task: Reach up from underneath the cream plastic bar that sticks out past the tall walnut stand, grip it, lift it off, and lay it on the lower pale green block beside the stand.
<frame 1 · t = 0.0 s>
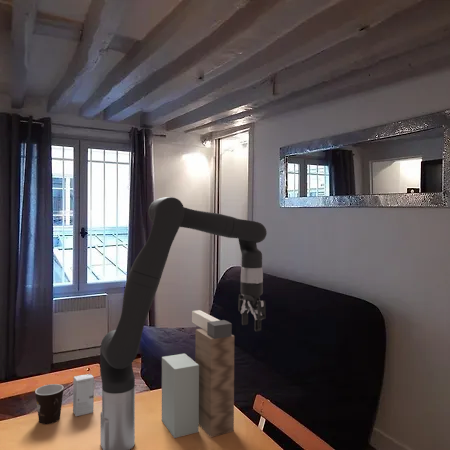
hand: (251, 327, 140), 29 cm above the table, tool pointing down, fingers open, 8 cm apart
skincare box: (83, 412, 140), on the table
pale green block: (179, 426, 131), on the table
coffee mug: (49, 422, 133), on the table
bar: (211, 331, 133), point 30 cm above the table, touching stand
stand: (213, 425, 132), on the table
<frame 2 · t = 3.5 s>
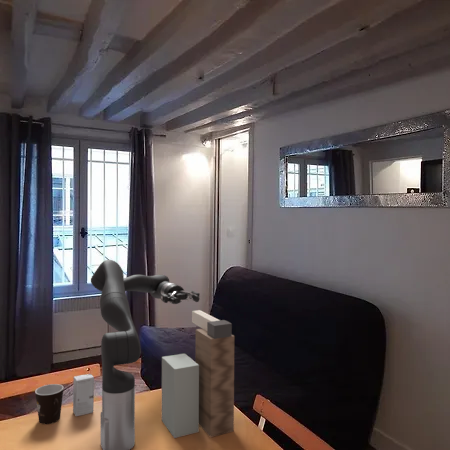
hand: (187, 300, 152), 36 cm above the table, tool horizontal, fingers open, 8 cm apart
nothing on the table moved.
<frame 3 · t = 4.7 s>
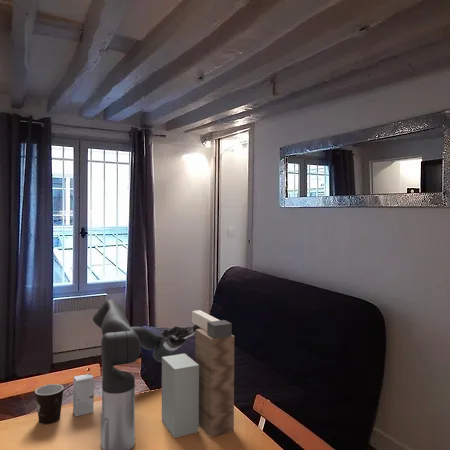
hand: (187, 327, 151), 26 cm above the table, tool pointing upward, fingers open, 8 cm apart
nothing on the table moved.
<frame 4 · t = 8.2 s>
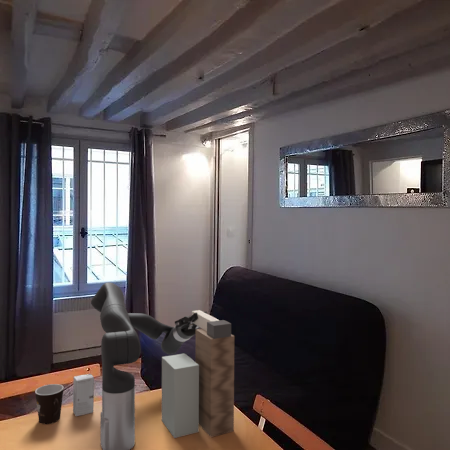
hand: (201, 314, 140), 34 cm above the table, tool pointing upward, fingers closed on bar, 3 cm apart
bar: (211, 331, 133), point 30 cm above the table, touching gripper, stand
everything else where it was.
when the fingers open (26 cm above the table, at t = 15.5 s): bar drops 1 cm, resting on pale green block.
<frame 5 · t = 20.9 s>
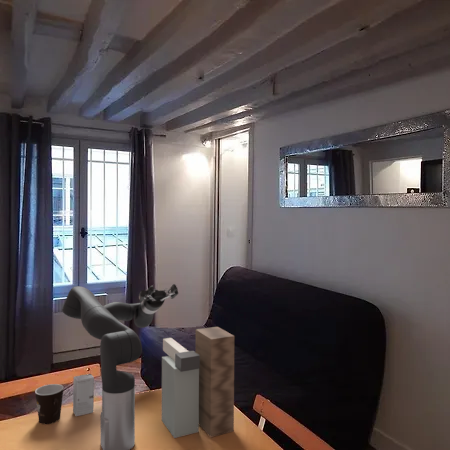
hand: (163, 287, 151), 41 cm above the table, tool pointing upward, fingers open, 8 cm apart
bar: (180, 361, 130), point 21 cm above the table, touching pale green block
everything else where it was.
at the end: bar inside the target area on the pale green block (0.3 cm from its centre), point 21.0 cm above the pale green block's base; bar tilted 0°; the gripper is holding nothing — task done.
